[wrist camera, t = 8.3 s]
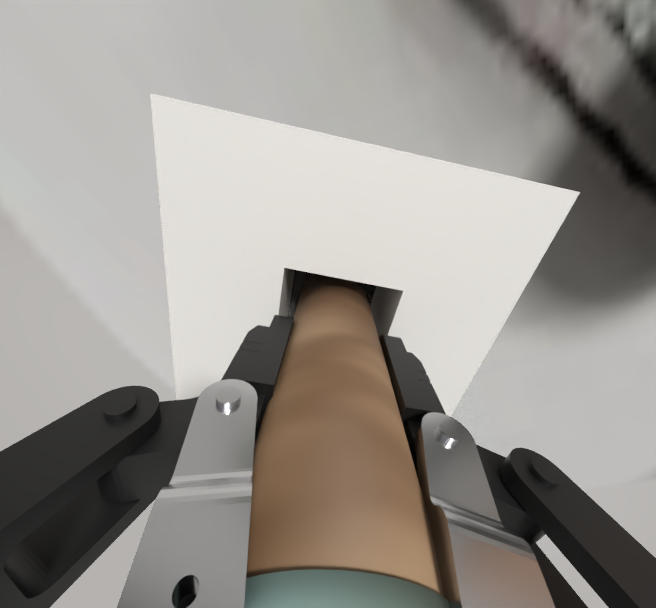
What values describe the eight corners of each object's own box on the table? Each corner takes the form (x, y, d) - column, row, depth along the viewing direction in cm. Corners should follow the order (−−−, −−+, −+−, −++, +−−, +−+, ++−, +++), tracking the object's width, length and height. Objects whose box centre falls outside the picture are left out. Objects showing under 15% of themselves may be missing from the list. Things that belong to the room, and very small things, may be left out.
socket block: (501, 188, 13) (580, 192, 9) (408, 395, 19) (428, 454, 15) (213, 122, 12) (150, 93, 8) (213, 362, 18) (178, 416, 14)
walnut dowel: (376, 275, 13) (564, 715, 2) (358, 335, 15) (422, 760, 4) (304, 260, 13) (154, 678, 2) (294, 323, 15) (178, 741, 4)
